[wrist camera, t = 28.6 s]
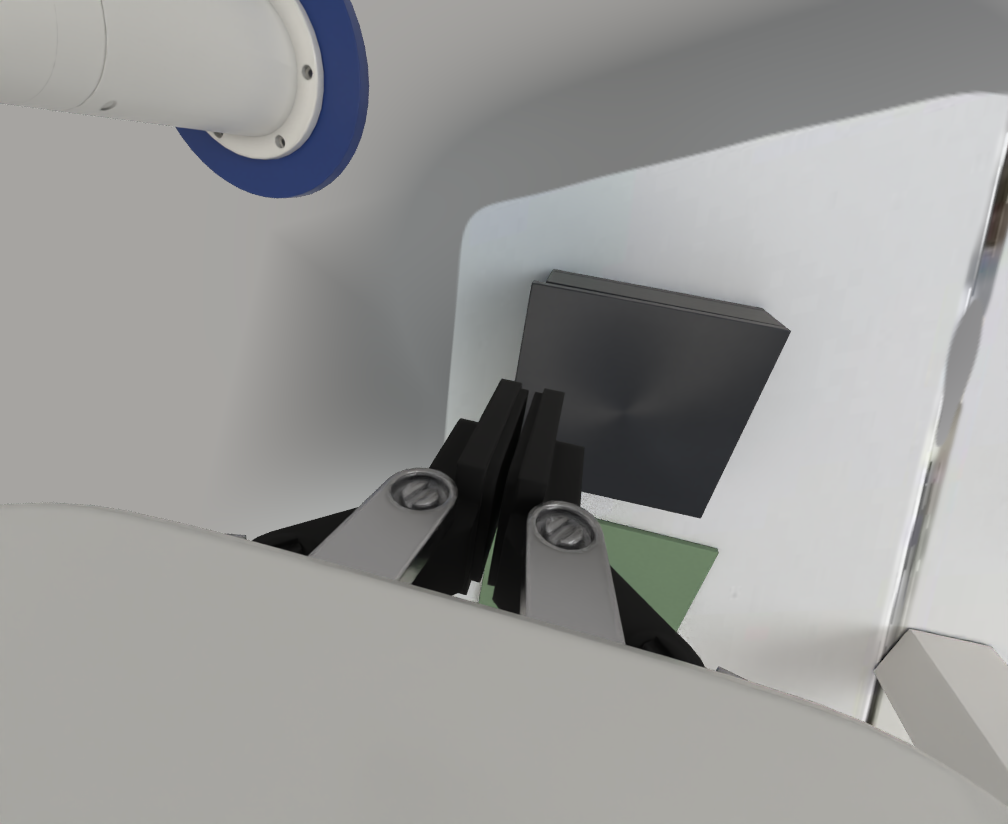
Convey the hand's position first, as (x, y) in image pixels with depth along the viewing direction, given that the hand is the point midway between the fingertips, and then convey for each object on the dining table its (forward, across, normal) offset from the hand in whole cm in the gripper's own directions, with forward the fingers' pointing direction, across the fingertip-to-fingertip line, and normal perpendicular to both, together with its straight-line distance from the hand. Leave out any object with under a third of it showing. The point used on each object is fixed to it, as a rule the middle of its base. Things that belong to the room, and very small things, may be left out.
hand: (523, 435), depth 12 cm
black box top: (+20, -6, +8) cm, 22 cm away
